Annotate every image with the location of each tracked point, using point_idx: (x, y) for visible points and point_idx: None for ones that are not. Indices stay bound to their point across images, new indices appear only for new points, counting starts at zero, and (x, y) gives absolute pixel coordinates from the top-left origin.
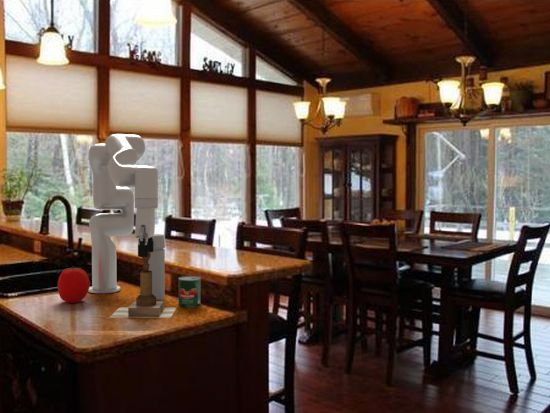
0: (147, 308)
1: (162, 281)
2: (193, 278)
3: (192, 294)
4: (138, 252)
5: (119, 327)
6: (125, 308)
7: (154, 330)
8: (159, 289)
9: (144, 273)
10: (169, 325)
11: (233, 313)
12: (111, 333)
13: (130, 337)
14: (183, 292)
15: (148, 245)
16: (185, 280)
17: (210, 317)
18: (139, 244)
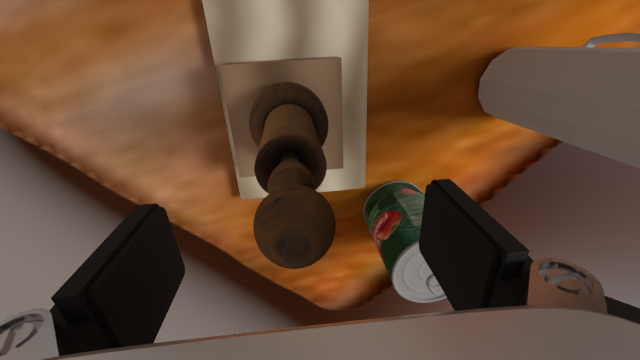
0: (233, 139)
1: (541, 132)
2: (428, 282)
3: (378, 251)
4: (120, 232)
5: (134, 57)
6: (349, 11)
7: (138, 175)
8: (509, 115)
9: (255, 166)
10: (201, 200)
11: (339, 307)
12: (53, 51)
13: (39, 128)
14: (383, 230)
15: (451, 258)
16: (393, 266)
17: (298, 272)
18: (12, 336)
